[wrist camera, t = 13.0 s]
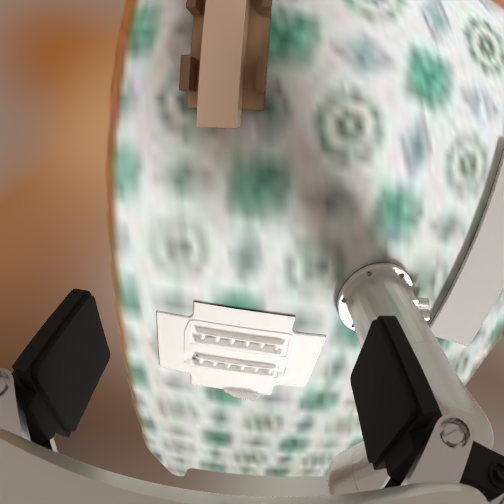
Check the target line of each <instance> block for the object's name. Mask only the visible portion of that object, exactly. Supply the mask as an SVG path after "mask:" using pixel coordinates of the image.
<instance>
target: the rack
mask: <svg viewBox="0 0 504 504" xmlns="http://www.w3.org/2000/svg"><path fill="white" fill-rule="evenodd" d="M205 5H206V0H187V4H186V8H187V9H188V10H189V11H190V13H191V14H192V15H193V16H194V22H193V32H192V43H191V55H181V68H180V84H179V90H182V91H187V92H188V104H187V108H197V102H198V85H199V70H200V57H201V45H202V34H203V24H204V14H205ZM271 5H272V0H251V2H250V13H249V25H248V37H247V49H246V62H245V75H244V88H243V102H242V109H251V110H264V99H265V86H266V72H267V59H268V45H269V32H270V19H271Z"/></svg>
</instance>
